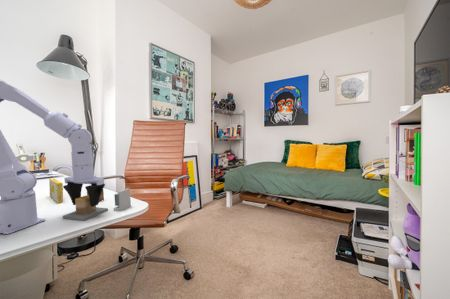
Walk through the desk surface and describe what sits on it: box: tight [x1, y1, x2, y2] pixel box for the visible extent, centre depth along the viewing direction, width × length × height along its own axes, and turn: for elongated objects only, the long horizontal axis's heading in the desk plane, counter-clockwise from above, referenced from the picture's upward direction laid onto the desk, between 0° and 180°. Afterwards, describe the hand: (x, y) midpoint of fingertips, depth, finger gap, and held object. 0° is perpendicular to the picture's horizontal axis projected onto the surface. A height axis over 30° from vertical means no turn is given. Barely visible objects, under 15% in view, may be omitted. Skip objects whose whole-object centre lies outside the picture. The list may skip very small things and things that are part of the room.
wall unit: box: [113, 187, 132, 212], centre depth 73 cm, size 5×3×7 cm, turn 165°
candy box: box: [48, 178, 64, 204], centre depth 86 cm, size 16×2×8 cm, turn 50°
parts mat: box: [62, 206, 109, 222], centre depth 68 cm, size 9×9×1 cm
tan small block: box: [75, 194, 97, 215], centre depth 68 cm, size 4×4×5 cm
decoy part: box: [86, 189, 105, 203], centre depth 82 cm, size 4×4×5 cm
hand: (85, 204), depth 68 cm, fingers open, 7 cm apart
